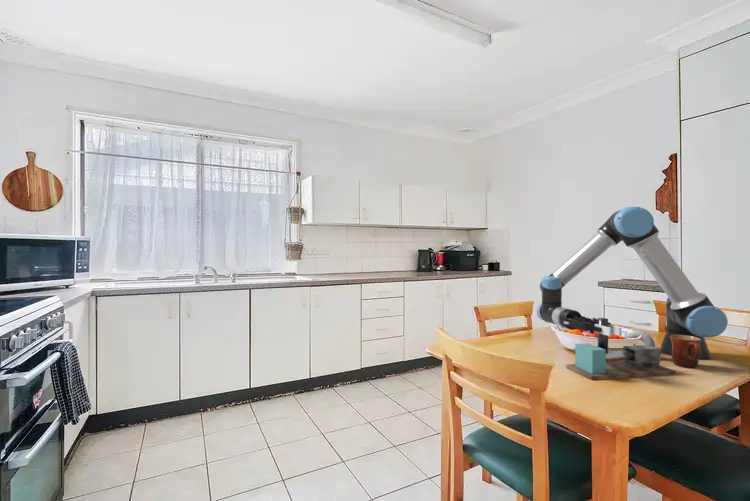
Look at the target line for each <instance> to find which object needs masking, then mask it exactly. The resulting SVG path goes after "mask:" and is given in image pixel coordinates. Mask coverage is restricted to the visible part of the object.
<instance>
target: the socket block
mask: <svg viewBox="0 0 750 501" xmlns="http://www.w3.org/2000/svg"><path fill="white" fill-rule="evenodd" d="M574 347H575V357H574V358H575V362H574V364H575V366H576V367H578V368H581V369H583V370H585V371H587V372H589V373H592V374H598V373H606V362H607V361H606V350H605V349H602V348H600V347H598V345H597V346H596V345H595V344H590V343H575V346H574Z"/></svg>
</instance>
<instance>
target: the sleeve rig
mask: <svg viewBox="0 0 750 501" xmlns="http://www.w3.org/2000/svg"><path fill="white" fill-rule="evenodd" d="M626 350H633V351H634V359H627V360H620V361H610V362H609V361H606V373H598V374H592V373H589V372H587V371H585V370H583V369H581V368H578V367H576V366H575V363H573V364H566V365H565V366H566V367H565V368H566V369H567V370H570V371H572V372H574V373H576V374H578V375H580V376H583V377H584V378H586V379H588V380H590V379H591V381H596V380H597V379H598V380H612V379H613V378H614V379H626V378H628V379H629V378H642V377H643V378H644V377H654V376H655V377H657V376H673V375H676V374H677V373H676V370H674V369H672V368H671V369H670V368H668V367H665V366H663V365H660V363H661V361H662V360H661V359H662V358H661V353H662V351H661V347H657V346H655V347H654V346H650V345H644V344H638V345H636V346H625V345H624V346H623V351H626ZM611 378H612V379H611Z"/></svg>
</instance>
